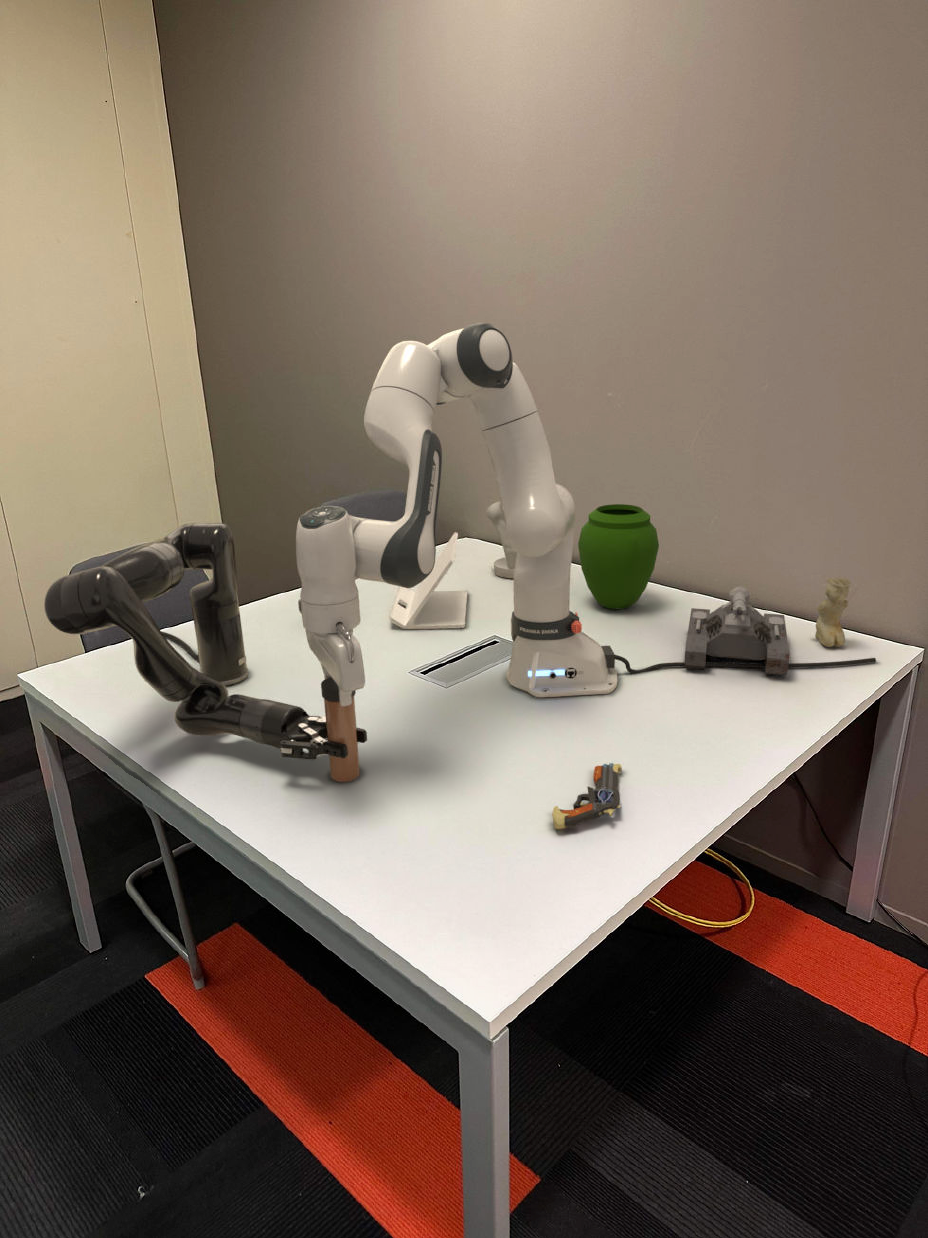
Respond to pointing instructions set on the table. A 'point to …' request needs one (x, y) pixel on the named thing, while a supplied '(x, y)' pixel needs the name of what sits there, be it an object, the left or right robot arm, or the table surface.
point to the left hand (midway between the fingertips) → (355, 744)
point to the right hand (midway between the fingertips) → (338, 694)
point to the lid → (331, 690)
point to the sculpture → (832, 613)
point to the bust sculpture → (507, 564)
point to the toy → (737, 635)
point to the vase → (618, 554)
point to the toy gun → (593, 799)
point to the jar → (342, 739)
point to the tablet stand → (432, 599)
